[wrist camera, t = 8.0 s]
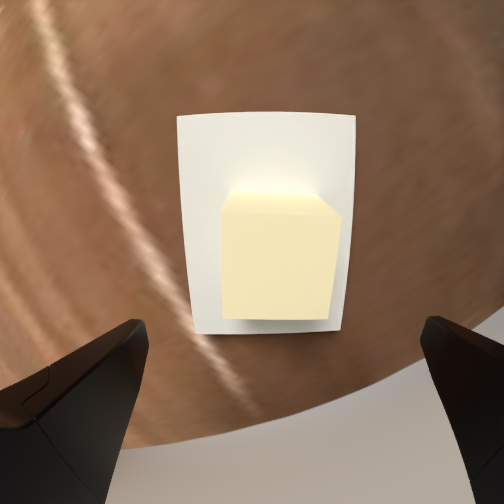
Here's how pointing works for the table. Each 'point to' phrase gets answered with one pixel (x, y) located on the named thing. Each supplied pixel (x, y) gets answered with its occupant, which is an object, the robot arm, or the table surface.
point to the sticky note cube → (278, 256)
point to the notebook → (259, 181)
